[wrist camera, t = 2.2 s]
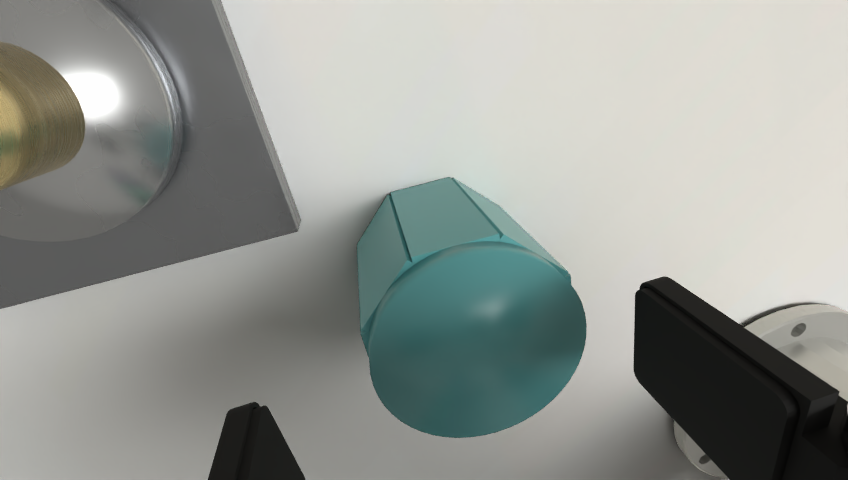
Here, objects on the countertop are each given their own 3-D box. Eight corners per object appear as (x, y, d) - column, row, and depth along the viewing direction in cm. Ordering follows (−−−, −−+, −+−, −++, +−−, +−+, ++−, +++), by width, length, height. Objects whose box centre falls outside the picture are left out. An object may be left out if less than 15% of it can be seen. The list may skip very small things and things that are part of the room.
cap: (513, 294, 20) (591, 403, 14) (383, 330, 19) (399, 460, 13) (495, 165, 17) (580, 226, 11) (343, 204, 17) (340, 291, 10)
